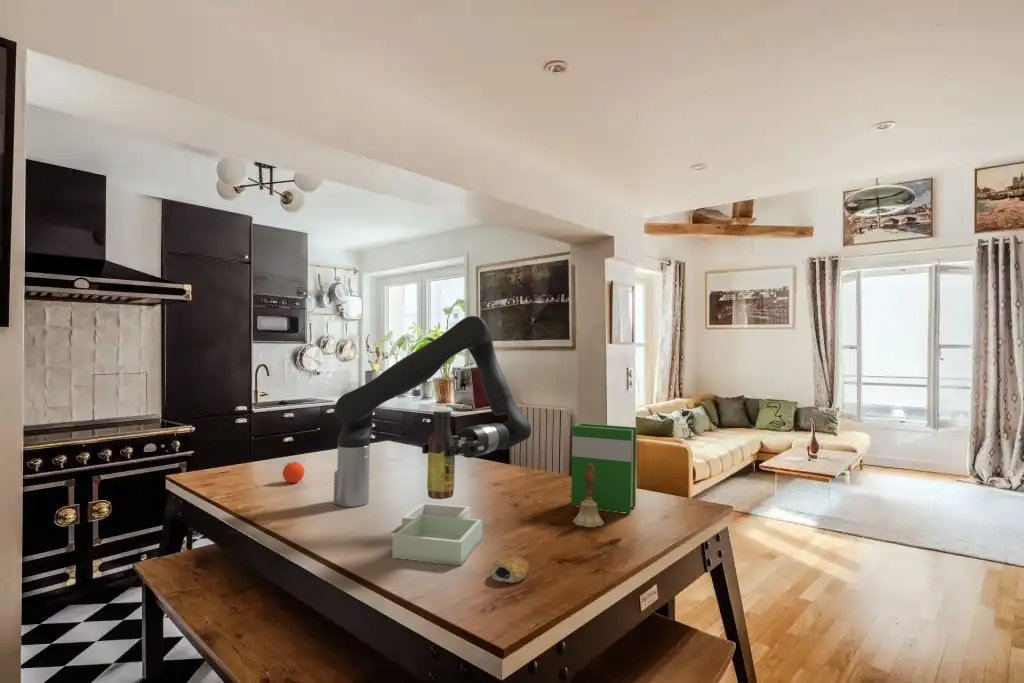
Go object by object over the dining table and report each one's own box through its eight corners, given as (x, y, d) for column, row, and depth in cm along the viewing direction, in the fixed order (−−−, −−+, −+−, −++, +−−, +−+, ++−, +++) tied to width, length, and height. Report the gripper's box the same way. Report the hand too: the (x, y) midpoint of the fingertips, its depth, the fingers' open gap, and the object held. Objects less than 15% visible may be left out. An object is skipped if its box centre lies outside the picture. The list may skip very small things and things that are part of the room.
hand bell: (585, 516, 153) (586, 459, 153) (610, 523, 147) (611, 464, 147) (566, 522, 147) (567, 463, 147) (591, 530, 141) (592, 468, 141)
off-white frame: (401, 529, 139) (401, 517, 139) (422, 513, 152) (422, 502, 152) (453, 534, 135) (453, 522, 136) (470, 517, 149) (470, 506, 149)
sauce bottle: (449, 501, 122) (450, 413, 122) (423, 499, 123) (424, 412, 124) (457, 493, 129) (458, 410, 129) (432, 491, 130) (433, 409, 130)
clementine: (278, 486, 180) (278, 464, 180) (279, 481, 186) (279, 460, 186) (304, 484, 183) (304, 463, 183) (304, 479, 189) (304, 459, 189)
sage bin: (392, 558, 120) (392, 535, 120) (420, 534, 135) (420, 514, 135) (461, 565, 116) (461, 542, 116) (481, 540, 132) (482, 519, 132)
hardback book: (635, 507, 161) (636, 427, 162) (630, 514, 155) (631, 430, 155) (578, 500, 169) (579, 423, 169) (571, 506, 162) (572, 426, 162)
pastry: (509, 564, 118) (509, 546, 118) (537, 570, 115) (537, 552, 115) (487, 580, 110) (487, 561, 110) (516, 587, 107) (517, 568, 107)
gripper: (456, 423, 142) (411, 431, 128) (501, 428, 134) (459, 437, 120) (455, 451, 142) (411, 463, 128) (501, 458, 134) (458, 471, 120)
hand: (434, 450), depth 124 cm, fingers closed on sauce bottle, 6 cm apart
